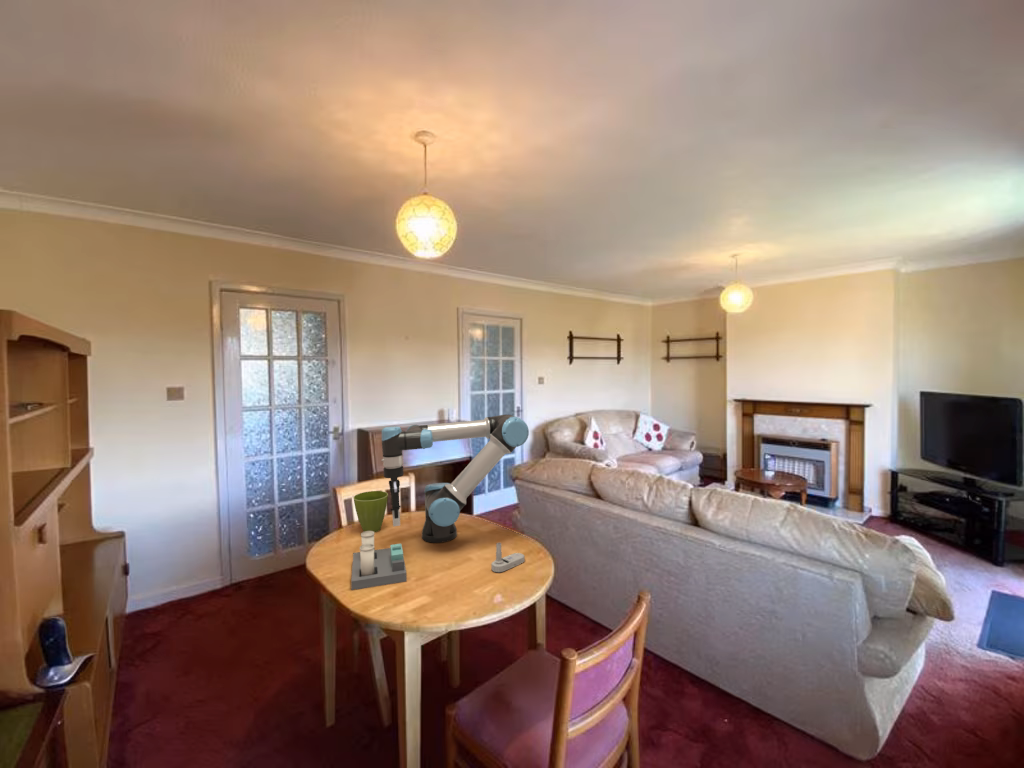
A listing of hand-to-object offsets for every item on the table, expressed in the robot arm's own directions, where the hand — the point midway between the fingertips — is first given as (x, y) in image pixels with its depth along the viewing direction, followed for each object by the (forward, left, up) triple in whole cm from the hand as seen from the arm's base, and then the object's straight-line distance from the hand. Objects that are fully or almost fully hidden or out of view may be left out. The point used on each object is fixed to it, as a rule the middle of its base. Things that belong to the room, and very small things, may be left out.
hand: (396, 525), depth 177 cm
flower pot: (+9, -31, -12) cm, 34 cm away
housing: (+7, +12, -12) cm, 18 cm away
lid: (+1, +13, -8) cm, 16 cm away
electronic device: (-38, +24, -12) cm, 47 cm away
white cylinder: (+11, +6, -12) cm, 17 cm away
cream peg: (+11, +19, -12) cm, 25 cm away
